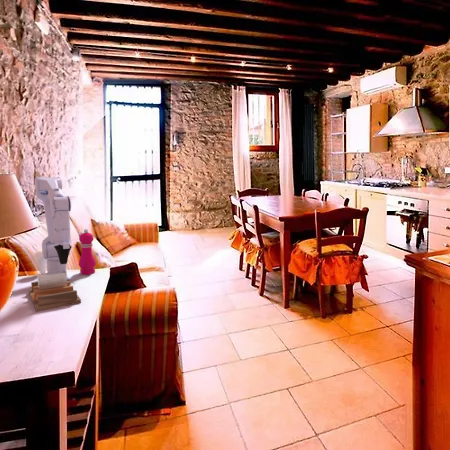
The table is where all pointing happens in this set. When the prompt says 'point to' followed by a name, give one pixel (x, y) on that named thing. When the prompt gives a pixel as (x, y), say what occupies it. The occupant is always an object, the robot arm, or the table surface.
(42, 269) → the lightbulb
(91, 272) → the pepper mill
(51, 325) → the table surface
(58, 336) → the table surface
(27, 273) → the table surface
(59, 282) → the wooden block
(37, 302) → the rack
